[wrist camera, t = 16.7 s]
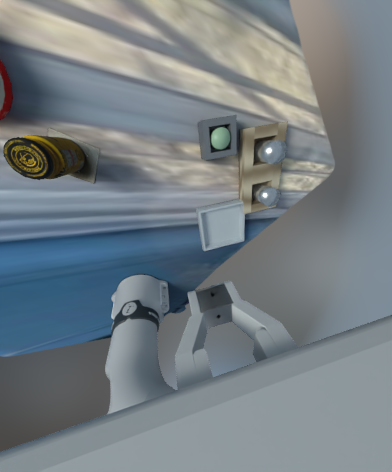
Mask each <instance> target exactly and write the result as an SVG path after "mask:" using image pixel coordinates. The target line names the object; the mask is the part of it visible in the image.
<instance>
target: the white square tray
mask: <svg viewBox="0 0 392 472" xmlns="http://www.w3.org/2000/svg"><path fill="white" fill-rule="evenodd" d="M196 211H197V217H198V224H199V230H200V237H201V243H202V248H203V250H204V251H207V250H211V249H215V248H218V247H222V246H226V245H230V244H234V243H238V242H242V241H244V226H245V214H243V201H242V200H240V199H236V200H231V201H227V202H222V203H218V204H213V205H209V206H204V207H200V208H196Z"/></svg>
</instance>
